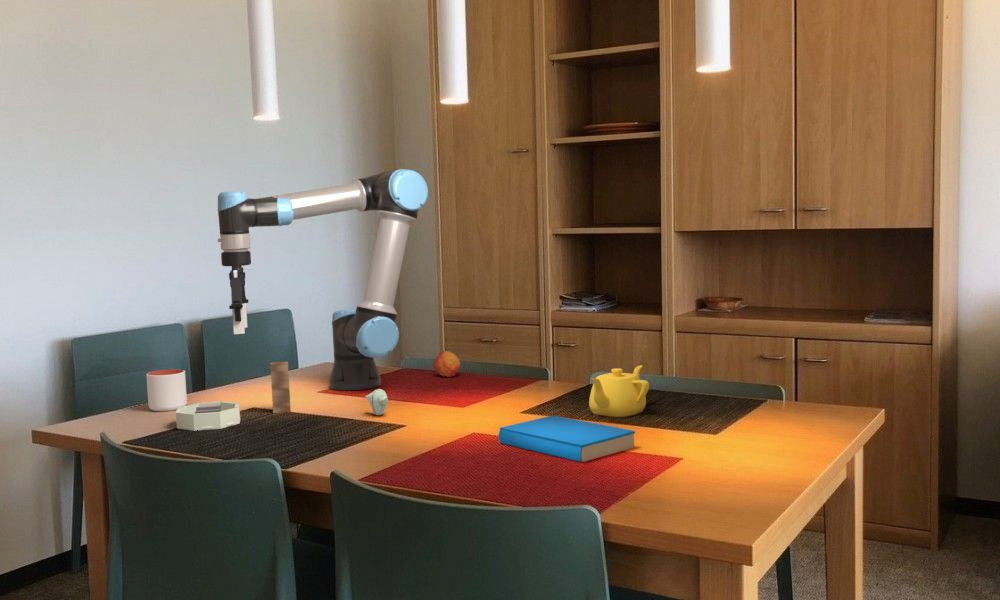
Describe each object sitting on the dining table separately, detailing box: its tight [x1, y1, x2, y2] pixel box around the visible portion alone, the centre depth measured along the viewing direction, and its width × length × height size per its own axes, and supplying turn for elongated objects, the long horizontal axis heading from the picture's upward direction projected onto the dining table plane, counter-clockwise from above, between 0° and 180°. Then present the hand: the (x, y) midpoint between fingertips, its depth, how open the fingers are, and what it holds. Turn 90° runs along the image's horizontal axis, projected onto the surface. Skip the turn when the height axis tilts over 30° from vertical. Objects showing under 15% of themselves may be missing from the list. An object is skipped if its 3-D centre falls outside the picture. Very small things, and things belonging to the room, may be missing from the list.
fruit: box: [433, 350, 461, 378], centre depth 305 cm, size 8×8×8 cm
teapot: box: [588, 365, 650, 418], centre depth 244 cm, size 22×16×11 cm
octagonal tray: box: [175, 400, 241, 432], centre depth 248 cm, size 15×15×4 cm
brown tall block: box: [269, 361, 291, 414], centre depth 259 cm, size 4×2×13 cm, turn 104°
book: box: [498, 415, 636, 463], centre depth 213 cm, size 17×4×25 cm
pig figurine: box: [365, 388, 389, 416], centre depth 250 cm, size 8×4×7 cm, turn 43°
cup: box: [145, 368, 188, 412], centre depth 269 cm, size 10×10×10 cm
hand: (240, 330), depth 261 cm, fingers open, 13 cm apart
